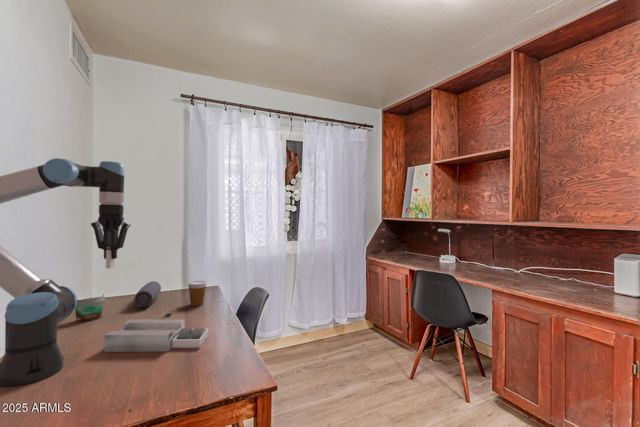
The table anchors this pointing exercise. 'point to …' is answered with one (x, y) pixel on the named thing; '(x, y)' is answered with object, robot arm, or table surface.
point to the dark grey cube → (197, 333)
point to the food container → (89, 309)
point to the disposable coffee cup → (197, 292)
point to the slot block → (144, 335)
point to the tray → (190, 341)
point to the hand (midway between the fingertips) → (110, 267)
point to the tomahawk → (165, 316)
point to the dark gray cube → (185, 333)
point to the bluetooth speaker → (147, 294)
